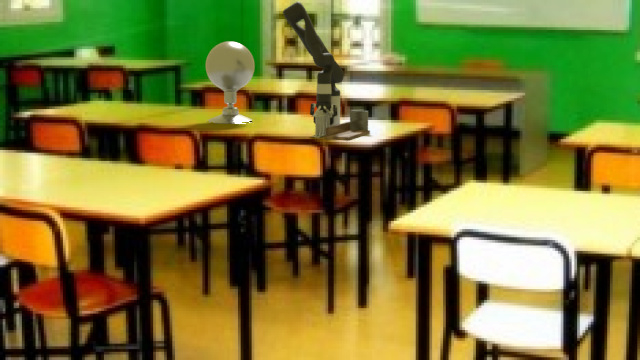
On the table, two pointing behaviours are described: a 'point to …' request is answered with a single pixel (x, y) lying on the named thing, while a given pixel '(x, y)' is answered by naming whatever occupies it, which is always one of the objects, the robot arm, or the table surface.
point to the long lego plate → (321, 123)
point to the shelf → (350, 127)
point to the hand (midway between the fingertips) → (323, 124)
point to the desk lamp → (230, 76)
